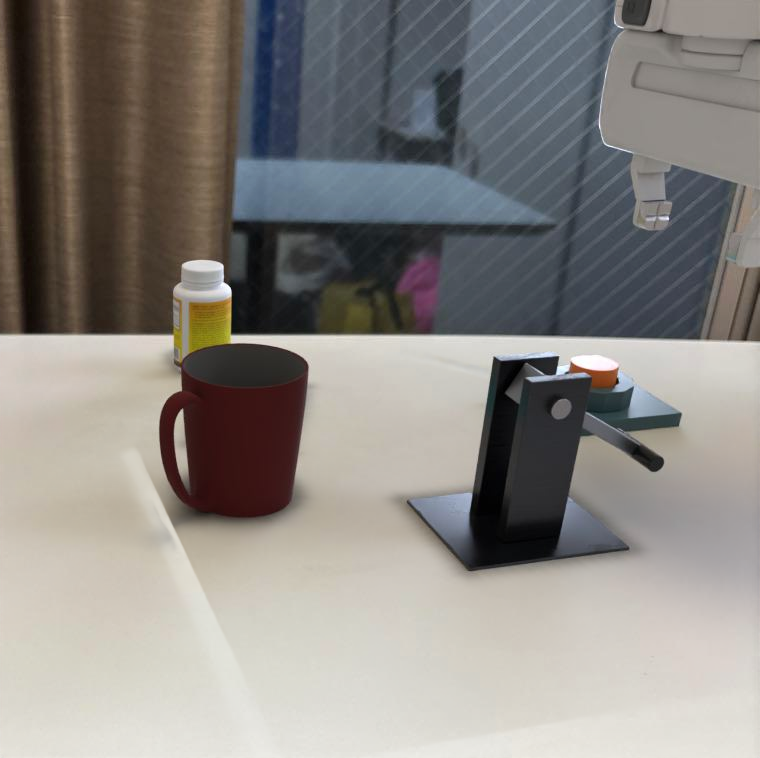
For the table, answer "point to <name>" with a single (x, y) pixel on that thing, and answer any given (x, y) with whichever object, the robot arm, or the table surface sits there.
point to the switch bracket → (523, 476)
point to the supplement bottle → (200, 309)
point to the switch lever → (597, 427)
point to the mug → (237, 428)
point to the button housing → (627, 406)
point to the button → (596, 369)
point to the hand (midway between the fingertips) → (693, 245)
